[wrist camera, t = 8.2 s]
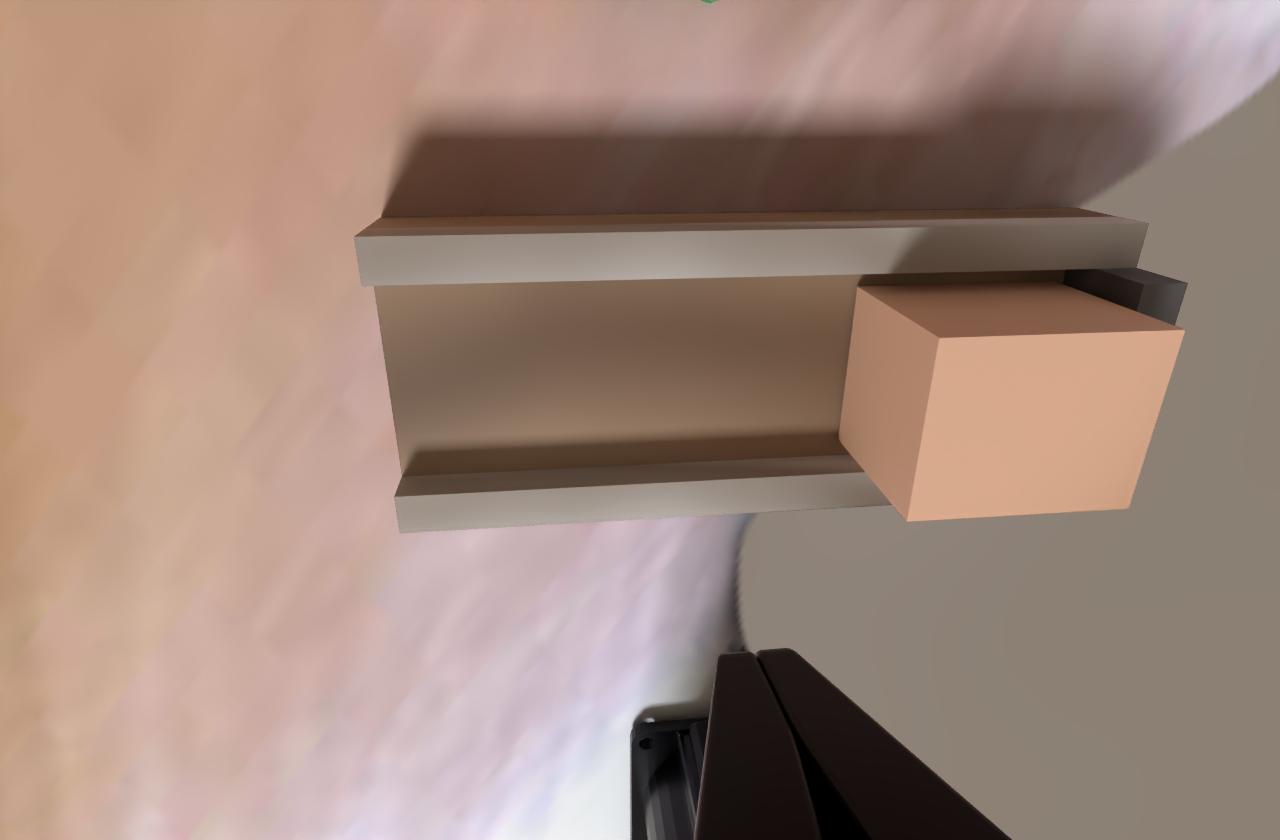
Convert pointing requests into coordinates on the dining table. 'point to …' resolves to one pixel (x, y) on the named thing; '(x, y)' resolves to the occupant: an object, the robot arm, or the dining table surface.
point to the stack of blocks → (710, 1)
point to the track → (672, 349)
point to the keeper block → (1002, 397)
